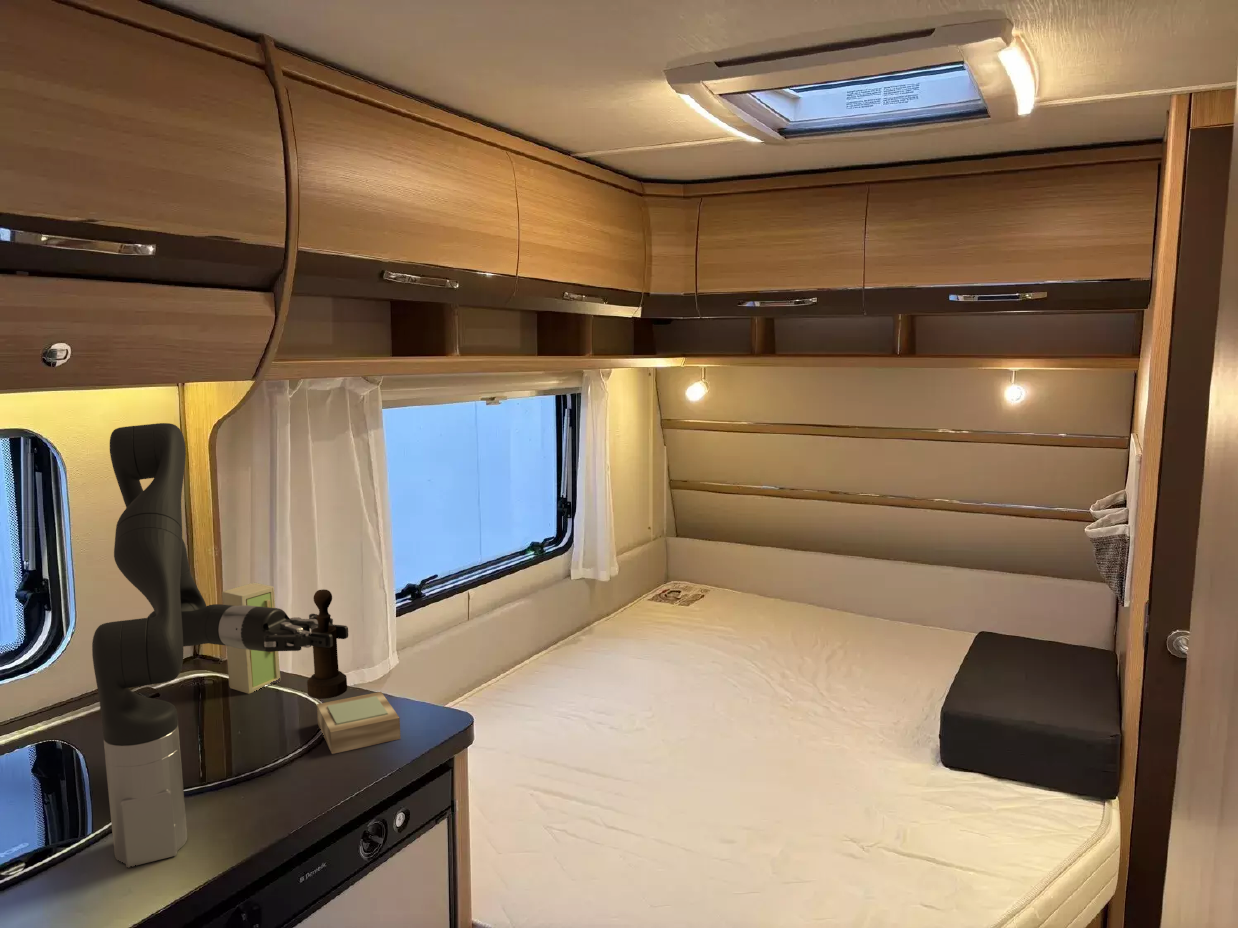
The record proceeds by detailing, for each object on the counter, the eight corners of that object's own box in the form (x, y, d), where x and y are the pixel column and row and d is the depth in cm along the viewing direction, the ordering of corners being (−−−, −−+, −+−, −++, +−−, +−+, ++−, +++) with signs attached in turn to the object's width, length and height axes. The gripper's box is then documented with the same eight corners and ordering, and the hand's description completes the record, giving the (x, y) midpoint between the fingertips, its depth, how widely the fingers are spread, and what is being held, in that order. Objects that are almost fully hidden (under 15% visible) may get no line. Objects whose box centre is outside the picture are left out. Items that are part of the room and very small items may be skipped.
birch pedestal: (400, 738, 159) (399, 716, 158) (332, 753, 153) (330, 730, 153) (382, 711, 171) (381, 690, 170) (317, 724, 165) (316, 702, 165)
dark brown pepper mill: (300, 691, 151) (295, 589, 149) (335, 681, 156) (330, 582, 153) (319, 702, 146) (313, 597, 144) (354, 691, 151) (349, 589, 149)
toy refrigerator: (250, 695, 180) (243, 595, 177) (228, 688, 184) (220, 591, 181) (283, 682, 187) (276, 586, 184) (261, 676, 190) (254, 581, 188)
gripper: (223, 619, 146) (312, 628, 142) (279, 595, 160) (362, 603, 155) (226, 662, 147) (315, 672, 143) (281, 635, 161) (363, 644, 156)
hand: (339, 636), depth 149 cm, fingers closed on dark brown pepper mill, 4 cm apart
